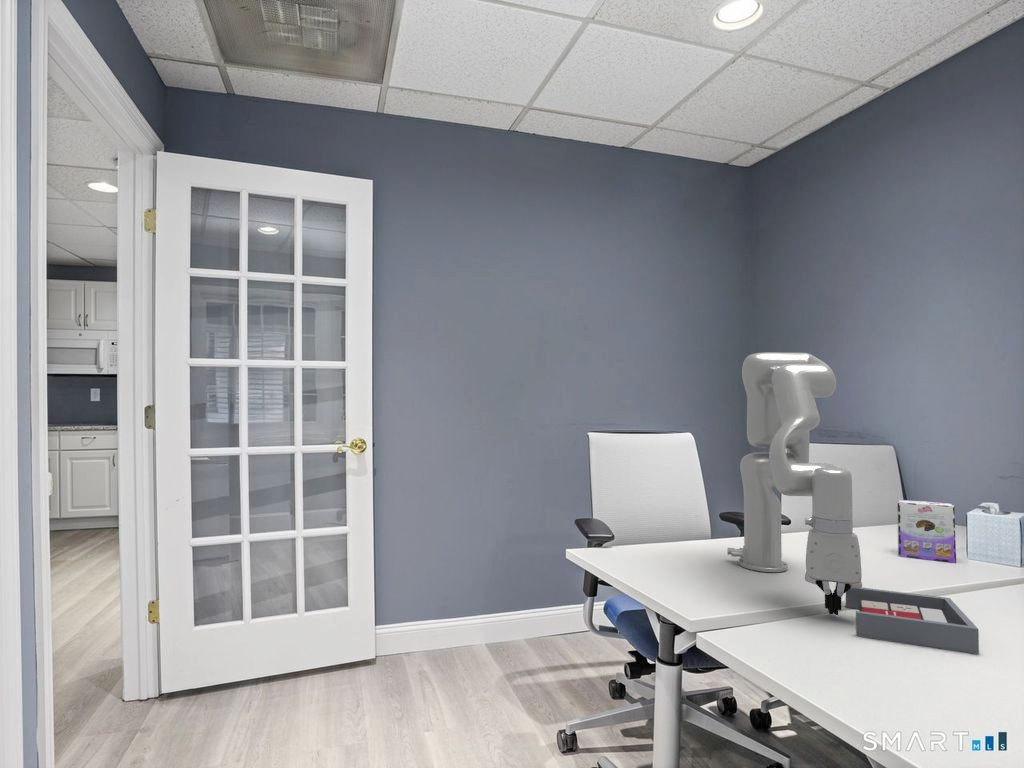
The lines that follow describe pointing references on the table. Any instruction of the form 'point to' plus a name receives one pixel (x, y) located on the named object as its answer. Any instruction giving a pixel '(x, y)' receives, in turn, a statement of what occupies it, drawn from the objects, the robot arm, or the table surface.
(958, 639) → the box
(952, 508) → the candy box
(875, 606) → the dark long red-fronted box
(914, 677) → the table surface
